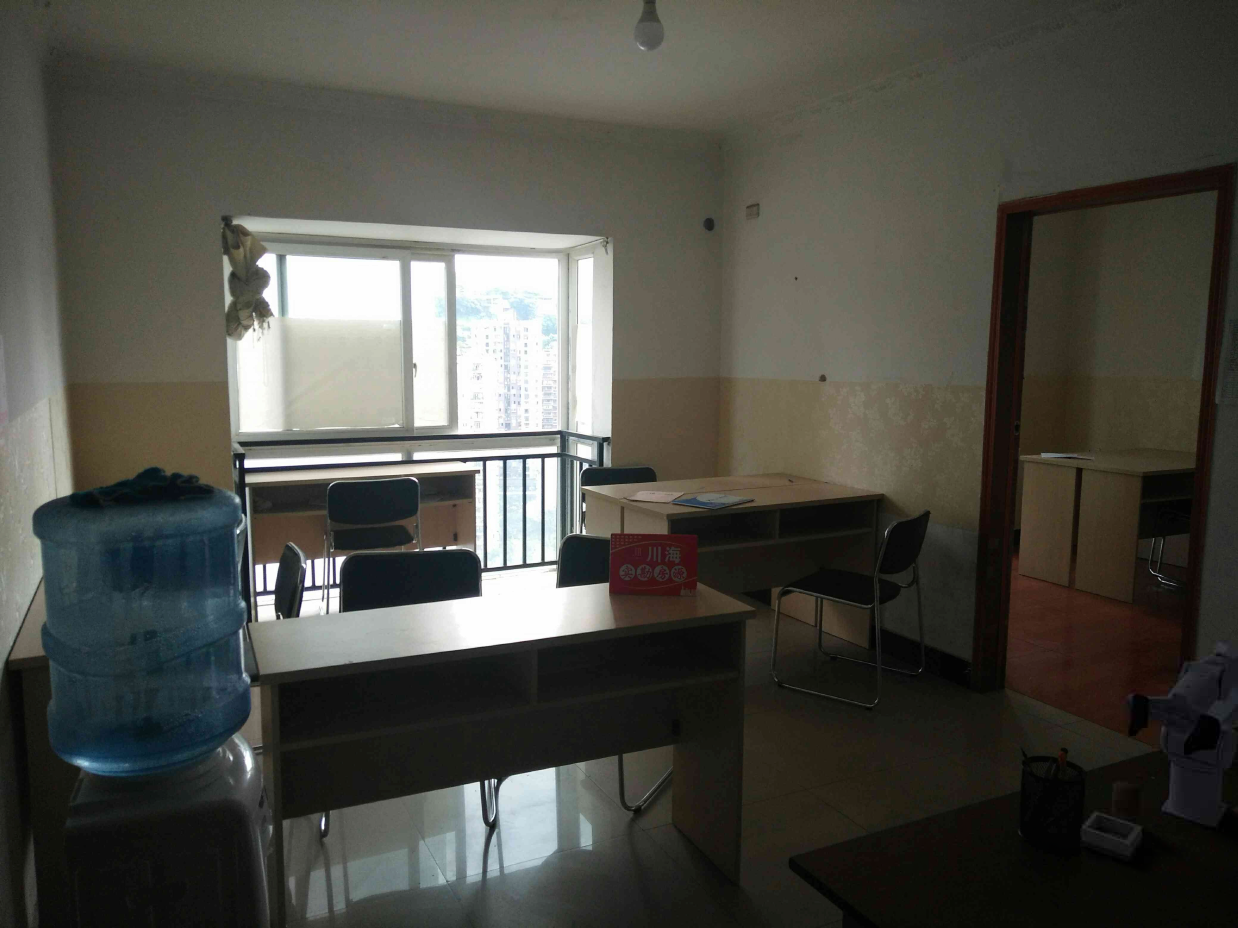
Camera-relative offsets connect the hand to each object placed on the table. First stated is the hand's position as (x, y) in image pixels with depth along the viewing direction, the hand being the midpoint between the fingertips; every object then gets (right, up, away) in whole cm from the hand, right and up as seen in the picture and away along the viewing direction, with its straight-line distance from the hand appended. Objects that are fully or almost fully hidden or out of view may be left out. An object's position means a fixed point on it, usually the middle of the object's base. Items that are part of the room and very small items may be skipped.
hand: (1158, 739), depth 135 cm
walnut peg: (+1, -18, +11) cm, 21 cm away
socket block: (-4, -19, +5) cm, 20 cm away
